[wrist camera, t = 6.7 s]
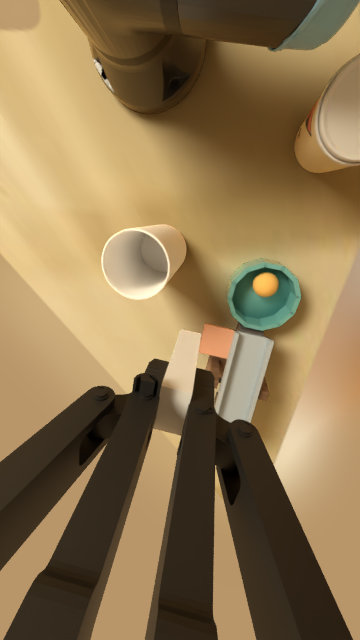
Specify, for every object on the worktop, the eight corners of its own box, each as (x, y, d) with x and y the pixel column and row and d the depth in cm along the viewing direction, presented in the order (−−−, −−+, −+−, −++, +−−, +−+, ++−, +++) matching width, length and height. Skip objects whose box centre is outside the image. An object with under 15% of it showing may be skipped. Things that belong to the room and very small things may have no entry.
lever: (204, 322, 44) (205, 325, 41) (269, 336, 43) (275, 342, 40) (181, 421, 48) (179, 433, 44) (240, 436, 47) (243, 449, 43)
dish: (237, 253, 42) (238, 256, 38) (302, 266, 42) (311, 272, 38) (220, 312, 47) (221, 321, 43) (280, 326, 46) (285, 336, 42)
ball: (250, 282, 44) (257, 264, 41) (272, 287, 44) (282, 269, 41) (248, 298, 42) (257, 281, 38) (273, 304, 41) (283, 287, 38)
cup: (191, 230, 42) (176, 238, 27) (180, 278, 45) (162, 307, 31) (144, 219, 42) (104, 220, 28) (136, 267, 46) (98, 290, 31)
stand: (220, 315, 47) (220, 333, 40) (279, 328, 46) (290, 349, 39) (198, 395, 54) (195, 423, 47) (249, 407, 54) (253, 437, 46)
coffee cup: (331, 81, 33) (389, 12, 22) (375, 137, 34) (450, 99, 23) (273, 145, 36) (298, 114, 25) (315, 194, 38) (356, 185, 27)
